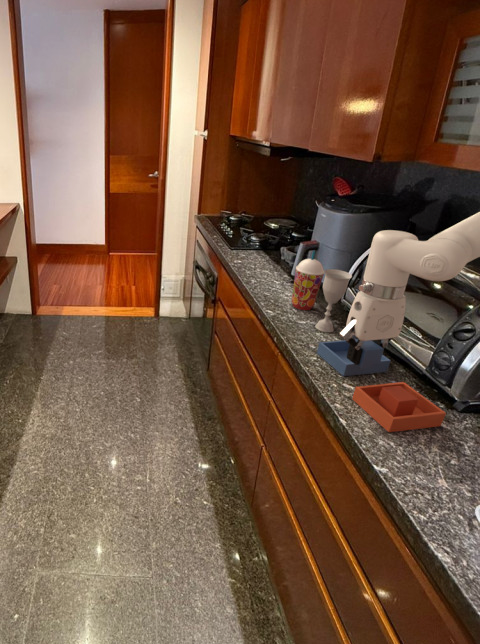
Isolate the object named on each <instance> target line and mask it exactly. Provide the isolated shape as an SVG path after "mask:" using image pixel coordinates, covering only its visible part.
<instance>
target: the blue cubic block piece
mask: <svg viewBox="0 0 480 644" xmlns="http://www.w3.org/2000/svg"><path fill="white" fill-rule="evenodd" d="M355 341H356V342H357V341H358V340H355ZM373 341H374V340H369V341H364V343H363V345H362V347H361V350H363V351H362V355H361V359H360V363H359V366H360V367H361V368H362V367H371V366H379V364H380V361H381V357H382V355H384V350H385V348H384V349H383V348H382V347H380V346H379V345H377V344H376V343H374V342H373Z"/></svg>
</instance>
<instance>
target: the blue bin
mask: <svg viewBox="0 0 480 644" xmlns="http://www.w3.org/2000/svg"><path fill="white" fill-rule="evenodd" d="M358 339H359V338H356V339H355V340H358ZM348 349H349V344H348V343H347V341H346V340H345V339H343V340H341V339H340V340H331V341H320V342H319V343H318V346H317V350H316V355H318V356H319V357H320V358H321V359H323V360H324V361H325V362H326V363H327V364H329V365H330V366H331V367H332V368H333V369H334V370H335V371H337V372H338V373H339V374H340V375H341V376H343V377H350V376H359V375H369V374H380V373H387V372H388V371H389V368H390V364H391V359H389V358H388V357H387V356H385V355H384V354H382V357H381V361H380V364H379V366H371V367H362V368H361V367H360V366H359V365H355V364H354V363H352V362H351V361H350V360H349V359H347V353H348Z"/></svg>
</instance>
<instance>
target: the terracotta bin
mask: <svg viewBox="0 0 480 644" xmlns="http://www.w3.org/2000/svg"><path fill="white" fill-rule="evenodd" d="M393 386H401V387H403V388H404V389H405V390H407V391H408V392H409V393H411V394H412V395H413V396H415V397H416V398H417V399H418V402H417V404H416V407H415V409H414V412H413V414H412V415H407V416H398V417H393V416H392V415H391V414H390V413H388V412H387V411H386V410H385V409H384V408H383V407H381V406H380V405H379V404H378V403H377V402H378V399H379V396H380V393H381V390H382V388H384V387H393ZM351 399H352V400H353V401H354V403H356V404H357V405H358V406H359V407H360V408H361V409H363V411H365V412H366V413H367V414H368V415H369V416H370V417H371V418H372V419H373V420H375V422H377V423H378V424H379V425H380V426H381V427H382V428H383V429H384V430H385V431H387V433H394V432H395V433H396V432H404V431H412V430H420V429H427V428H429V429H430V428H435V427H437V428H438V427H441V426H442V424H443V422H444V420H445V417H446V415H447V413H446V411H444V410H443V409H441V408H440V407H438V406H437V405H436V404H435V403H433V402H431V401H430V400H429V399H428V398H427V397H425V396H424V395H422V394H421V393H420V392H418V391H417V390H416V389H414V388H412V386H410V385H409V384H407V383H406V382H405V381H400V382H399V381H397V382H389V383H380V384H378V383H377V384H370V385H360V386H355V388H354V391H353V395H352V398H351Z"/></svg>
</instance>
